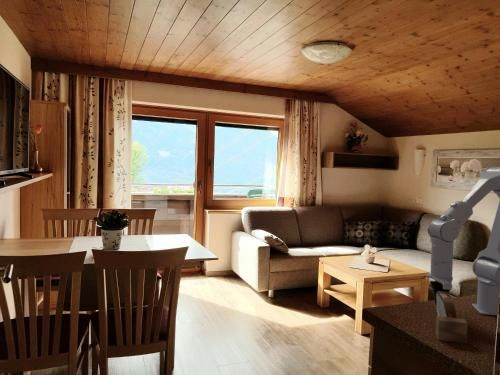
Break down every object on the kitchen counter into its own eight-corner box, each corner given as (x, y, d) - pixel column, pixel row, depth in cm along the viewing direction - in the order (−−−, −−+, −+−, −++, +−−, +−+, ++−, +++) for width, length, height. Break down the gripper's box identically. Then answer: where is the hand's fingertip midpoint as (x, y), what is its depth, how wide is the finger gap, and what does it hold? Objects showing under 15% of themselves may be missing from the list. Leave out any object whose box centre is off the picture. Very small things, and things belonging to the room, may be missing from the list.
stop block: (462, 337, 95) (463, 318, 95) (466, 343, 92) (467, 323, 92) (435, 334, 97) (436, 315, 96) (438, 340, 94) (439, 320, 93)
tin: (457, 337, 95) (459, 304, 95) (444, 335, 96) (445, 303, 96) (445, 315, 110) (446, 287, 109) (433, 314, 111) (435, 286, 110)
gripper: (421, 254, 118) (420, 297, 119) (432, 265, 104) (431, 314, 105) (446, 256, 116) (444, 299, 117) (460, 267, 102) (458, 316, 103)
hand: (439, 306), depth 111 cm, fingers closed
